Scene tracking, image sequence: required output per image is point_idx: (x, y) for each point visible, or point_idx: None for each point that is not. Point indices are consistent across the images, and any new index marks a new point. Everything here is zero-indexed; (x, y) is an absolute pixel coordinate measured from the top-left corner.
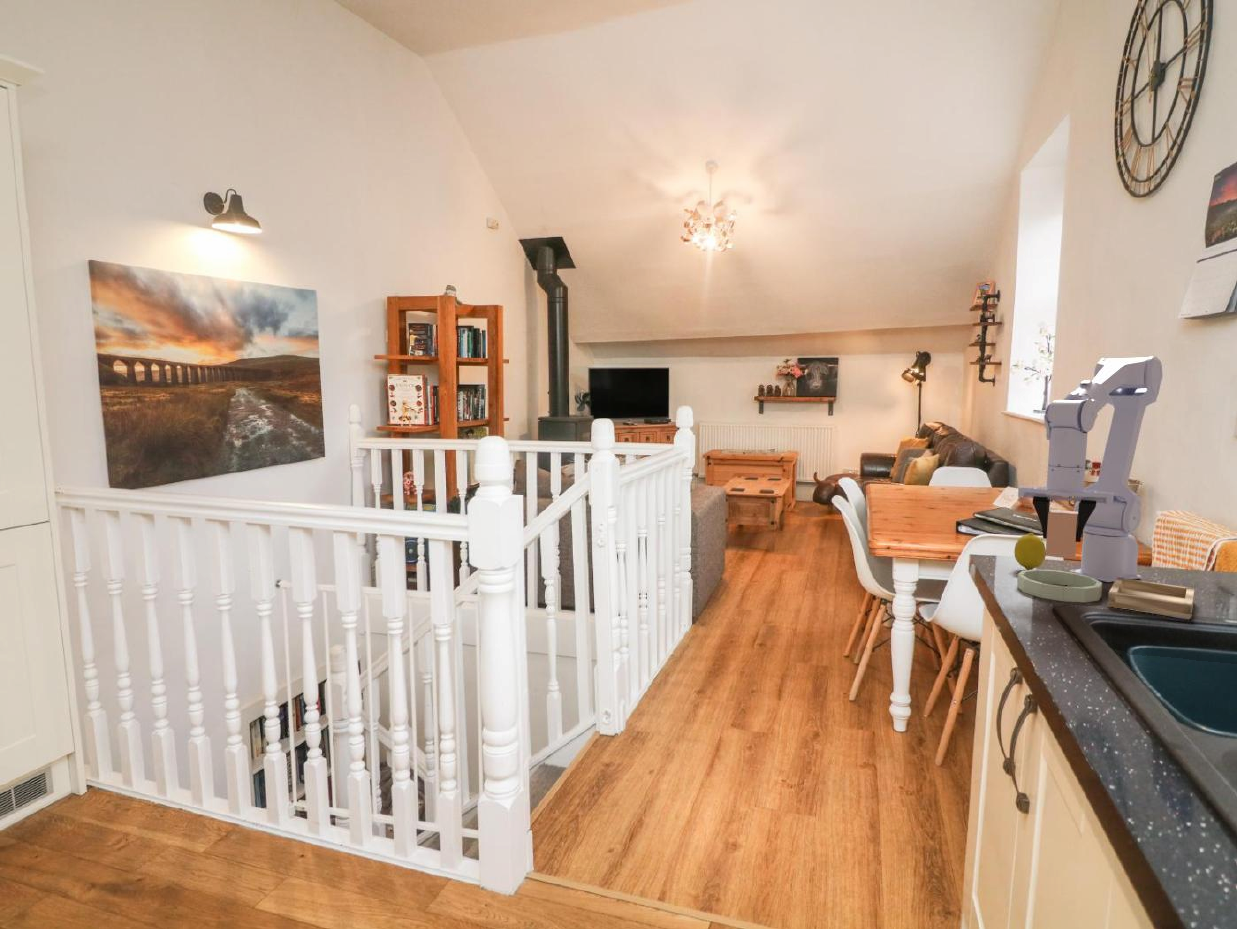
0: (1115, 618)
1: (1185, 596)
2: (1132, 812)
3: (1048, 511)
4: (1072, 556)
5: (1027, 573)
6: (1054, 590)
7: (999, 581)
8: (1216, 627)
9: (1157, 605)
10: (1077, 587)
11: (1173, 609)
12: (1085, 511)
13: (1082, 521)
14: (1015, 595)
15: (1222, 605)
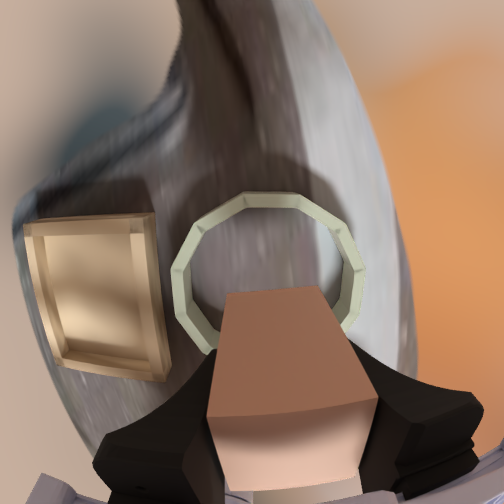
0: (131, 126)
1: (42, 293)
2: None
3: (365, 449)
4: (232, 296)
5: (345, 314)
6: (265, 193)
7: (389, 287)
8: (17, 206)
9: (67, 219)
10: (213, 220)
11: (49, 220)
12: (151, 433)
13: (185, 399)
14: (346, 175)
15: (45, 354)
